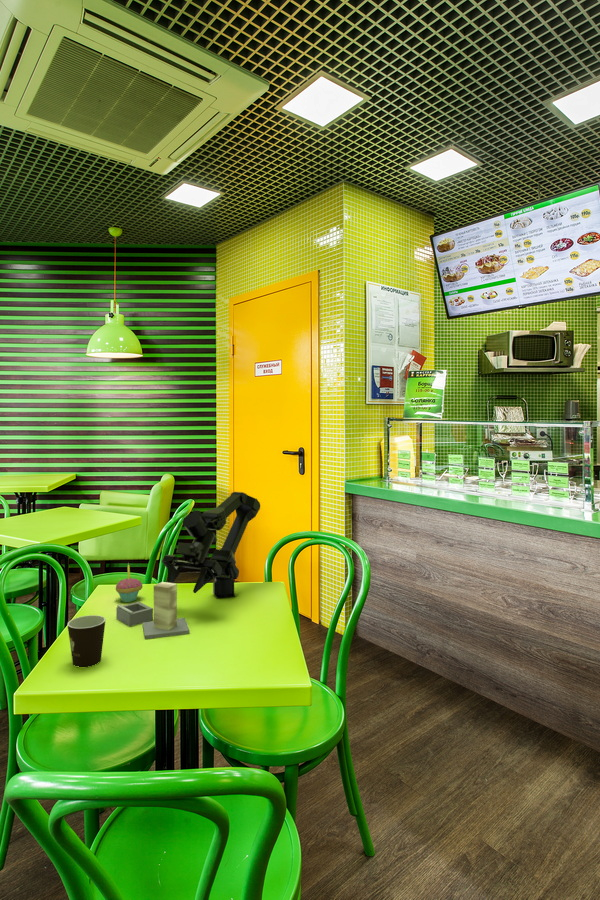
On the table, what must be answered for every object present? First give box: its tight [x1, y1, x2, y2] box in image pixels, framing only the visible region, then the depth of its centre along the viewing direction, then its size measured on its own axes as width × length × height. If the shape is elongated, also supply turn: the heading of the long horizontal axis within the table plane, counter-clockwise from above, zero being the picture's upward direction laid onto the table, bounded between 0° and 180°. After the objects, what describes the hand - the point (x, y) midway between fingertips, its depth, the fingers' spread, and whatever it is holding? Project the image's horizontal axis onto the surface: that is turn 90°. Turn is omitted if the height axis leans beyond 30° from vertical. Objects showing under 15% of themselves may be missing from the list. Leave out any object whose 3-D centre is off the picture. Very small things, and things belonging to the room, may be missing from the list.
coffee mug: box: [67, 614, 106, 668], centre depth 128 cm, size 12×9×10 cm
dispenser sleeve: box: [115, 601, 154, 627], centre depth 155 cm, size 7×8×4 cm
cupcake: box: [115, 562, 143, 603], centre depth 172 cm, size 9×8×12 cm
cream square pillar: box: [153, 581, 178, 630], centre depth 147 cm, size 4×5×12 cm
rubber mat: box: [142, 617, 190, 640], centre depth 148 cm, size 12×10×1 cm
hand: (180, 590), depth 154 cm, fingers open, 9 cm apart
